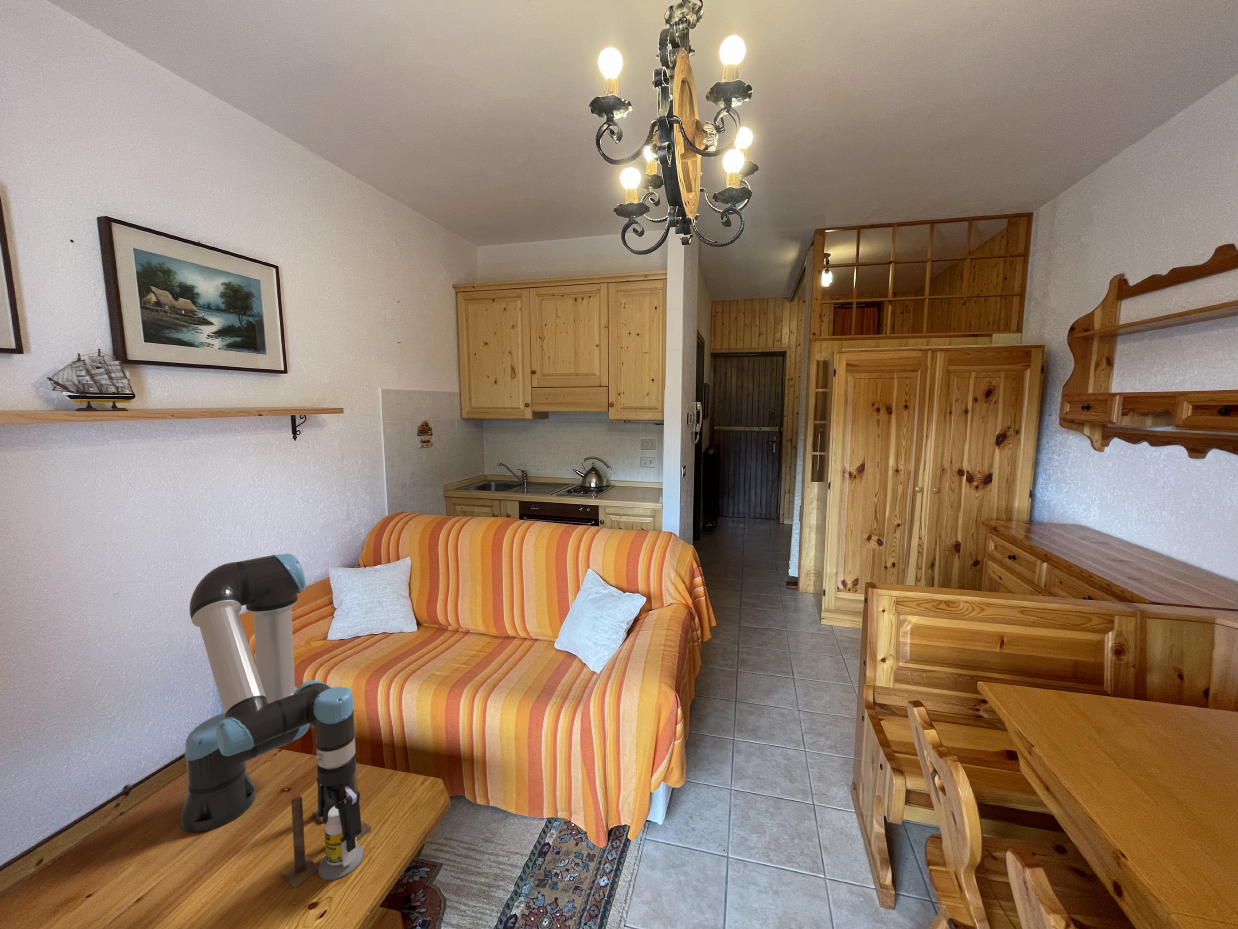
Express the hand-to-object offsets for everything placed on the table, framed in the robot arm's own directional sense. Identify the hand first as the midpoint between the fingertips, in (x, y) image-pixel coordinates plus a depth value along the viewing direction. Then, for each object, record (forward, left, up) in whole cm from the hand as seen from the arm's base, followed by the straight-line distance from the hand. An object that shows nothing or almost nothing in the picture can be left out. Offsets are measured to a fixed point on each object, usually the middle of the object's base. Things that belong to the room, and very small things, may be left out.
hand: (340, 854), depth 111 cm
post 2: (-17, +6, -2) cm, 19 cm away
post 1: (-5, -6, -2) cm, 8 cm away
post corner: (-5, +6, -2) cm, 8 cm away
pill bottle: (0, 0, -1) cm, 1 cm away
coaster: (0, 0, -2) cm, 2 cm away
